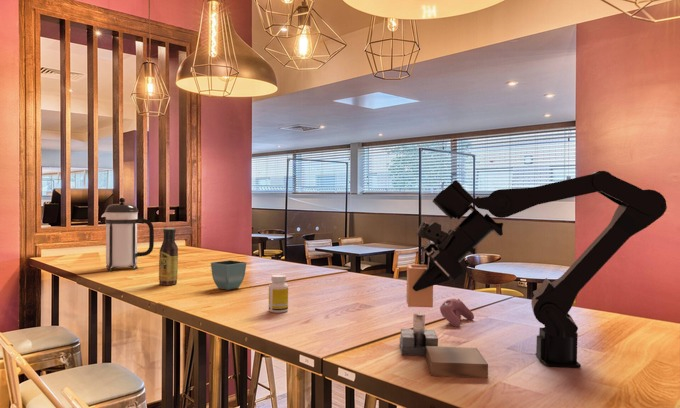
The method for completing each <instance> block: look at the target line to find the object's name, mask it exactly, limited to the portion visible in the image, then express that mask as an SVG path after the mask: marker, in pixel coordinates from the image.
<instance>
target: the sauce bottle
mask: <svg viewBox="0 0 680 408" xmlns="http://www.w3.org/2000/svg"><path fill="white" fill-rule="evenodd" d="M162 230H163V241H162V244H161V245H160V246H161V247H160V249H159V254H158V255H159V257H158V258H159V259H158V261H159V262H158V263H159V264H158V284H159V285H161V286H173V285H177V284H178V283H177V282H178V275H179V274H178V273H179V271H178V270H179V269H178V268H179V248H178V244H177V243H176V242H175V241H176V239H175V238H176V235H175V234H176V232H177V231H176V230H177V229H176V228H174V227H165V228H163V229H162Z"/></svg>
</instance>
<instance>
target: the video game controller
mask: <svg viewBox="0 0 680 408" xmlns="http://www.w3.org/2000/svg"><path fill="white" fill-rule="evenodd" d="M439 310H440V311H439V312H440V314H441V315H442V317H444V318H445V320H446V321H447V322H448V323H449V324H450V325H452V326H453V327H456V328H459V327H461V319H462V317H463V318H465V319H467V320H468V321H469V320H470V321H474V319H475V315H474V313H473V311H472V310H470V309H469V308H468V307H467V305H466V304H465V303H464V302H463V301H462V300H461V299H460V298H457V299H456V298H450V299H446V300H445V301H444V302H443V303H442V304H441V305H440V306H439Z"/></svg>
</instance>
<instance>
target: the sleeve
mask: <svg viewBox="0 0 680 408" xmlns="http://www.w3.org/2000/svg"><path fill="white" fill-rule="evenodd" d="M427 267H428V265H422V264H411V263H409V264H406V299H405V300H406V304H407V307H410V308H411V307H412V308H433V307H434V285H433V286H430V287H427V288H425V289H422V290H419V291H415V290H414V289H413V286H414V284H415V283H416V282H417V280H418V279H419V278H420V276H421V275H422V274H423V273H424V271H425V270H426V269H427Z"/></svg>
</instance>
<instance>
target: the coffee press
mask: <svg viewBox="0 0 680 408" xmlns="http://www.w3.org/2000/svg"><path fill="white" fill-rule="evenodd" d="M125 201H126V199H125V198H123V197H120V198H119V200H118V202H119V203H112V204H109V205H107V207H106V209H105V210H104V213H102V215H101V218H105V222H104V223H105V264H106V266H105V267H106V268H107V269H106V270H107V272H113V270H114V269H115V268H125V267H130V268H131V269H132V270H133V271H134V270H138V269H139V268H138V267H139V266H138V265H137V263H138V258H139V257H145V256H148V255H150V254H151V253H152V252H153V249H154V244H155V237H154V236H155V230H154V225H153V223H152V222H151V221H150V220H149V219H146V218H138V213H139V209H138V208H137V206H136V205H134V204H130V203H125ZM139 223H142V224H146V225H147V226H148V230H149V232H148V236H149V237H148V241H149V242H148V245H149V246H148V248H147V250H146V251H142V252H138V224H139Z"/></svg>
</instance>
